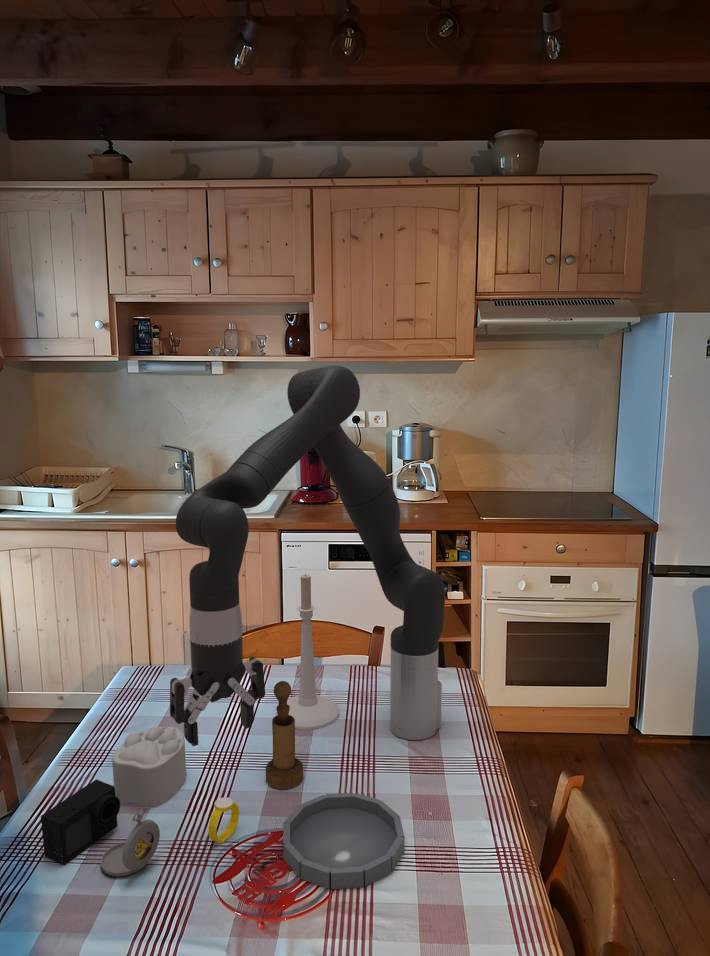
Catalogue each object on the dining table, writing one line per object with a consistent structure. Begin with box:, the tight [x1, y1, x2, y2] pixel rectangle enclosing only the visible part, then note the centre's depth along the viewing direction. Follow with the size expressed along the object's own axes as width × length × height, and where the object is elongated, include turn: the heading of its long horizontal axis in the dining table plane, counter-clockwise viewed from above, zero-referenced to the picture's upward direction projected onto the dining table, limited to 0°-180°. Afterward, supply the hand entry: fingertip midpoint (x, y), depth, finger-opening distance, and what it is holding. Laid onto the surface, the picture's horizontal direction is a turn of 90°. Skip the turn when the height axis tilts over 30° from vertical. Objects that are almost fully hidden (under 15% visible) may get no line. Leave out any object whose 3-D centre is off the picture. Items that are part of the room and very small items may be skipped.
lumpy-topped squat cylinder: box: [111, 725, 187, 809], centre depth 125 cm, size 10×13×9 cm
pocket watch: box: [100, 807, 161, 877], centre depth 104 cm, size 8×8×10 cm
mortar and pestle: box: [265, 680, 304, 790], centre depth 125 cm, size 7×6×18 cm
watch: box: [207, 796, 240, 844], centre depth 111 cm, size 6×3×6 cm, turn 152°
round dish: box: [282, 792, 405, 890], centre depth 109 cm, size 18×18×2 cm
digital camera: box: [40, 779, 121, 866], centre depth 110 cm, size 10×5×7 cm, turn 151°
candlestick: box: [276, 573, 340, 731], centre depth 146 cm, size 13×13×30 cm
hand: (220, 734), depth 108 cm, fingers open, 8 cm apart
